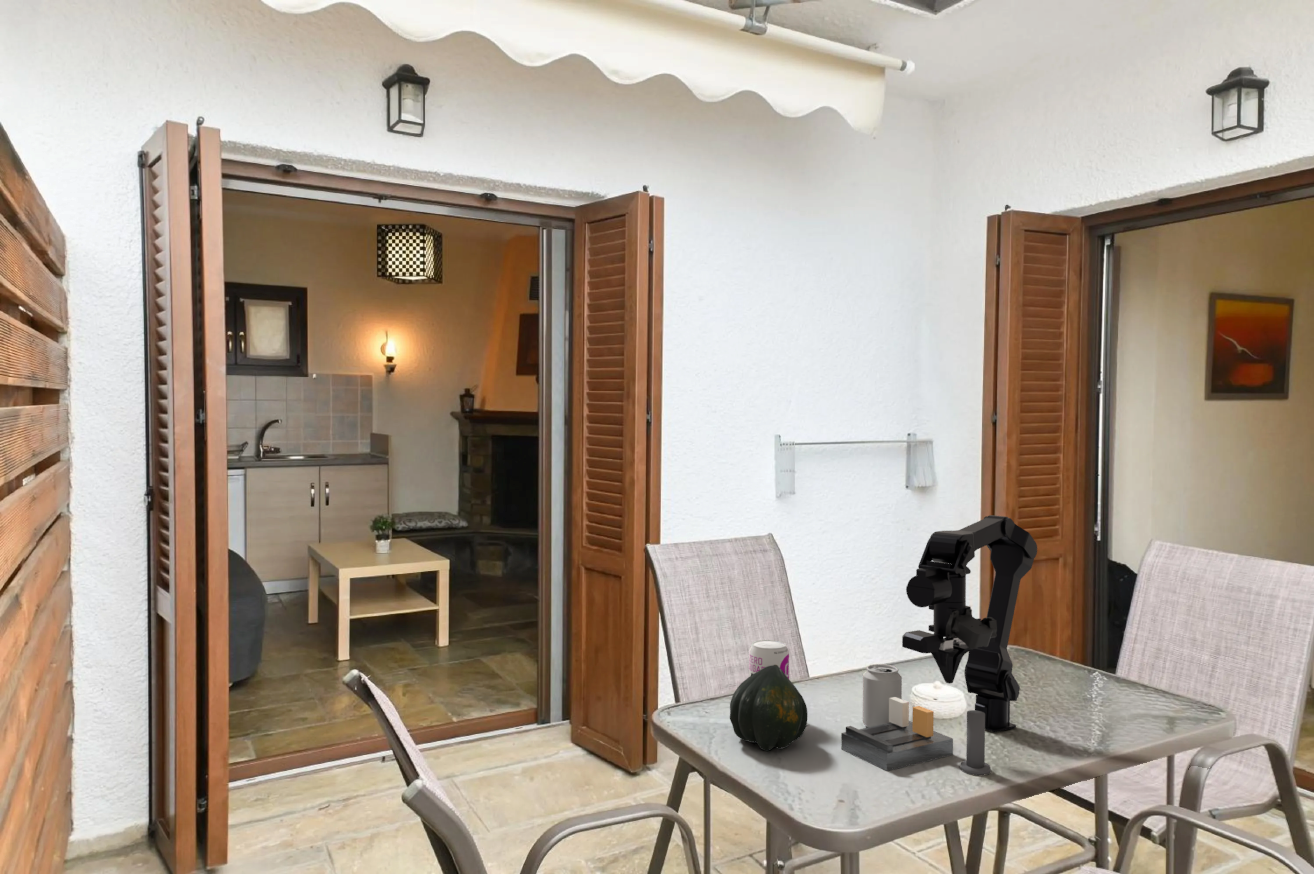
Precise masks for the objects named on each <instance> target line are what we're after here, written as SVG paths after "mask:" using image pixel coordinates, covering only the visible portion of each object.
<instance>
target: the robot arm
mask: <svg viewBox="0 0 1314 874" xmlns="http://www.w3.org/2000/svg"><path fill="white" fill-rule="evenodd" d="M985 546H986V548H988V550H989V551H990V554H989V555H990V556H989V558H990V561H991V565H992V566H993V570H994V573H995V574H994V579H993V584H992V589H991V594H990V599H989V604H988V609H987V612H986V613H987V614H986V617H984V618H982V619H981V618H980V617H979V618H975V617H974V616H973V610H972V608H971V607H972V606H971V605H969V606H968V605H967V604H966V603H967V598H966V596H967V594H966V593H967V592H966V591H967V584H966V583H967V575H969V574H971V573H972V571H971V569H970V568H969V567H968V566H967V565H968V564H969V563H970V561H972V560H973V559H974V558H975V557H976V556H975V555H976V554H975V552H976V551H977V550H979V549H981V548H984V547H985ZM922 553H923V554H922V556H921V558H920V560H919V563H918V568H917V569H916V570H915V572H916V573H915V576H911V578H910V579H909V580H908V583H907V585H906V589H905V590H906V592H905V593H906V595H907V598H908V600H909V602H910V603H911V604H912V605H914V606H915V607H918V608H927V607H928V609H929V610H930V611H931V610H932V611H933V624H929V625H928V631H929V632H927V631H924V630H920V629H917V630H912V631H911V630H910V631H906V632H904V633H903V635H902V637H901V640H902V641H901V642H902V643H901V646H902V647H901V648H905V649H907V650H911V651H915V652H917V653H920V654H931V656H932V657H933V659H934V661H935V663H936V665H937V667H938V669H939V671H940V674H941V676H942V678H943V680H944V682H945V683H946V684H953V683H954V680H955V678H956V675H957V673H958V670H959V667H960V664H961V662H962V660H963V657H964V656H965V655H966V654H967V653H968V656H967V661H966V663H965V666H964V679H965V686H966V690H967V693H969V694H975V703H974V710H976V711H981V712H984V713H985V731H986V730H987V731H989V732H992V733H999V732H1003V731H1006V730H1011V729H1016V728H1017V724H1014V723H1012V722H1011V721H1010V720H1011V702H1016V701H1018V698H1019V695H1020V690H1021V687H1020V684H1019V683H1018V681H1017V679H1016V678H1015V676H1014V674H1013V667H1014V666H1013V662H1012V659H1011V657H1010V653H1009V652H1008V645H1009V640H1010V636H1011V635H1010V634H1011V631H1012V626H1013V625H1012V624H1013V620H1014V615H1015V609H1016V604H1017V599H1018V595H1019V589H1020V584H1021V580H1022V579H1023V578H1024V576H1026V575H1027V574H1028V572H1029V571H1031V569H1032V567H1033V564H1034V561H1035V558H1036V556H1037V554H1038V544H1037V542H1036V541H1035V539H1034V537H1033V536H1032V535H1031V533H1030V532H1028V531H1027V530H1025V529H1024V528H1022V527H1020V526H1019V525H1018V524H1016V523H1015V521H1014V520H1013V519H1012V518H1011V517H1008V516H1004V515H991V514H989V515H987V516H985V517H983V519H981V520H979V521H978V520H977V521H976V522H974V523H972V524H969V525H967V526H965V527H963V528H960V529H958V530H939V531H934V532H933V533H932V534H931V535H930V538H928V540H927V542H926V546H925V547H924V550H923V552H922ZM931 632H933V633H931Z"/></svg>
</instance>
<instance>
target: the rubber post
mask: <svg viewBox="0 0 1314 874" xmlns="http://www.w3.org/2000/svg"><path fill="white" fill-rule="evenodd" d="M985 747H986V729H985V713H984V712H981V711H976V710H975V709H973V710H968V711H966V755H965V757H966V759H965V760H963V761H961V762H960V764H959V765H960V766H959V767H960V768H959V769H960V770H961V771H962V772H963V773H965V774H969V775H971V774H974V775H973V776H979V775H982V776H985V775H984V774H988V775H990V774H991V773H990V772H992V771H991V769H992V767H991V765H990V764H989V763H986V761H985V760H986V757H985V756H986V753H985V752H986V748H985ZM989 773H990V774H989Z"/></svg>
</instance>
